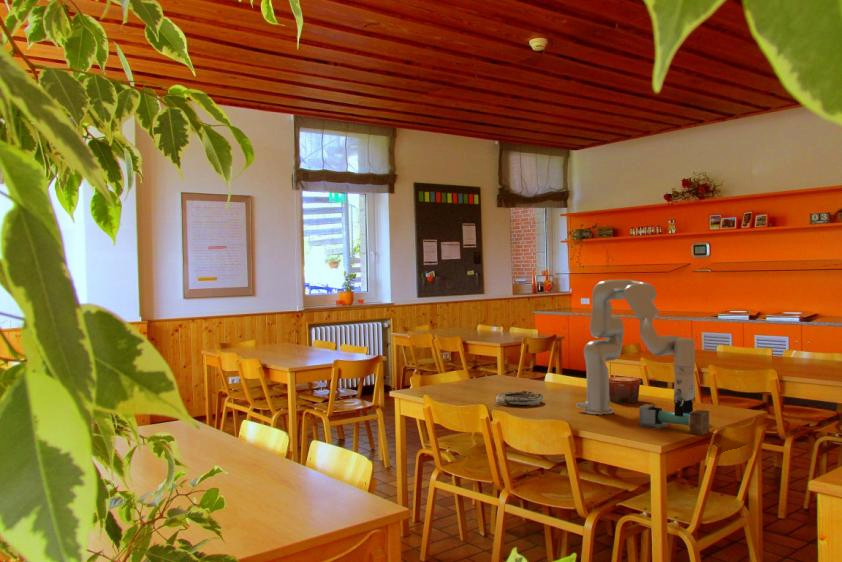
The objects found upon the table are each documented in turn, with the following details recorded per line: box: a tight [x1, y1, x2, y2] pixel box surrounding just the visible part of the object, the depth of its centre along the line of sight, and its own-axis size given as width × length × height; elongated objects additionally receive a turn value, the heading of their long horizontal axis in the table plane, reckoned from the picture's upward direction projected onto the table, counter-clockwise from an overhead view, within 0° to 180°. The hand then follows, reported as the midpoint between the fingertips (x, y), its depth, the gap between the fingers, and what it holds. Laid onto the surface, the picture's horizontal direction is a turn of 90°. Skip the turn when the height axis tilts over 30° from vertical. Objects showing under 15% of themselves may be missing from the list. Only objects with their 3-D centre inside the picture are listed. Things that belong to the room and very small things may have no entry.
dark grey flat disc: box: [493, 390, 544, 407], centre depth 339 cm, size 28×27×5 cm
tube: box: [658, 410, 692, 428], centre depth 277 cm, size 16×6×6 cm, turn 49°
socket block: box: [689, 409, 710, 436], centre depth 272 cm, size 4×8×8 cm, turn 139°
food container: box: [609, 376, 642, 404], centre depth 338 cm, size 16×16×11 cm
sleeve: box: [638, 403, 668, 430], centre depth 284 cm, size 8×7×8 cm
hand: (683, 413), depth 276 cm, fingers open, 9 cm apart
